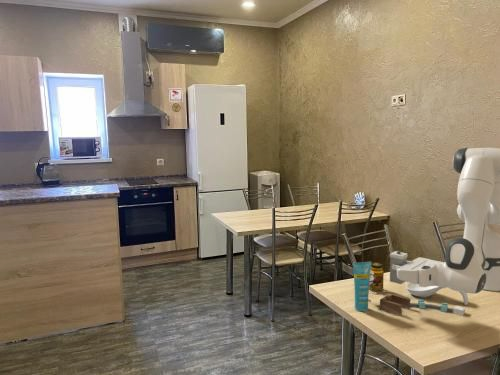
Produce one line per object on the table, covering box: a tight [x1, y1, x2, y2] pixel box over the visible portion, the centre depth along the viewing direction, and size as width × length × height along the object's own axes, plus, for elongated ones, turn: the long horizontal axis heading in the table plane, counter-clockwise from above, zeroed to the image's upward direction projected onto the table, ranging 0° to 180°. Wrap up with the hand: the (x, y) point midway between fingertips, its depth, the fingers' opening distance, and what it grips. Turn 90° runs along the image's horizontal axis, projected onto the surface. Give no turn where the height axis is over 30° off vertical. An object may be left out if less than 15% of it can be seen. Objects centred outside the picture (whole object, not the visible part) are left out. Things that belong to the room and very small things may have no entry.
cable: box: [410, 302, 466, 317], centre depth 147 cm, size 4×22×2 cm, turn 64°
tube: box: [352, 260, 372, 312], centre depth 148 cm, size 7×5×19 cm, turn 103°
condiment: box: [369, 262, 388, 295], centre depth 168 cm, size 7×8×12 cm
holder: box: [379, 292, 411, 316], centre depth 148 cm, size 9×8×4 cm
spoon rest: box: [405, 282, 469, 306], centre depth 158 cm, size 24×12×7 cm, turn 55°
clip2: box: [417, 299, 426, 310], centre depth 150 cm, size 2×4×2 cm, turn 168°
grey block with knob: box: [389, 250, 408, 285], centre depth 146 cm, size 5×5×12 cm
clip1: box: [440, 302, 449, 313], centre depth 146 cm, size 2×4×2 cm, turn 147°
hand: (396, 264), depth 146 cm, fingers closed on grey block with knob, 4 cm apart
